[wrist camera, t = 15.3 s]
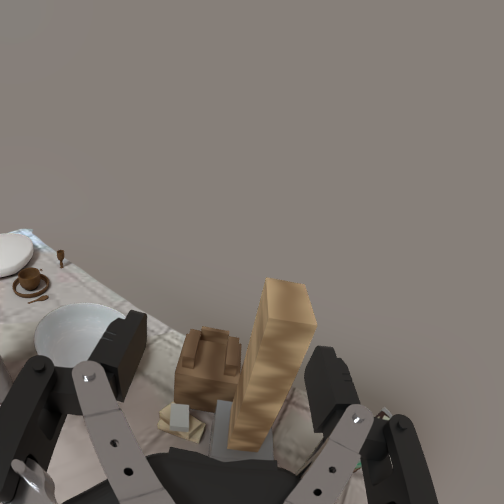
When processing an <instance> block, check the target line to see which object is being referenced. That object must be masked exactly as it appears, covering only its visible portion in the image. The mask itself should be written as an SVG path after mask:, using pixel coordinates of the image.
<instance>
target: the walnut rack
mask: <svg viewBox="0 0 504 504" xmlns="http://www.w3.org/2000/svg"><path fill="white" fill-rule="evenodd" d="M200 335H201V336H200ZM228 337H229V338H228ZM240 364H241V344H239V338H236V337H230V336H229V331H225V330H219V329H214V328H209V327H204V326H202V329H201V331H199V330H194V329H191V330H190V333H189V334H186V338H185V341H184V344H183V347H182V351H181V354H180V357H179V361H178V364H177V367H176V371H175V385H174V403H176V404H183V405H189V408H191V409H196V410H201V411H207V412H212V413H215V409H216V404H217V400H223V401H230V402H233V399H234V396H235V392H236V388H237V385H238V381H239V378H240Z"/></svg>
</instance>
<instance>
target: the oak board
mask: <svg viewBox="0 0 504 504" xmlns="http://www.w3.org/2000/svg"><path fill="white" fill-rule="evenodd" d="M316 327H317V322H316V319H315V316H314V312H313V310H312V306H311V303H310V300H309V297H308V293H307V290H306V287H305V285H304V284H299V283H293V282H288V281H282V280H277V279H272V278H266V280H265V284H264V288H263V291H262V295H261V299H260V303H259V307H258V311H257V314H256V319H255V322H254V326H253V330H252V334H251V337H250V341H249V345H248V348H247V352H246V356H245V360H244V363H243V367H242V370H241V374H240V378H239V381H238V385H237V388H236V392H235V396H234V399H233V403H232V406H231V410H230V421H229V432H228V444H227V449H232V450H240V451H249V452H258V451H259V449H260V447H261V445H262V444H263V442H264V440H265V438H266V436H267V434H268V432H269V430H270V428H271V426H272V424H273V423H274V421H275V419H276V417H277V415H278V413H279V411H280V409H281V407H282V404H283V402H284V400H285V398H286V396H287V394H288V392H289V390H290V388H291V385H292V383H293V381H294V379H295V377H296V375H297V372H298V370H299V368H300V366H301V363H302V361H303V359H304V356H305V354H306V351H307V349H308V347H309V344H310V342H311V340H312V337H313V335H314V332H315V330H316Z"/></svg>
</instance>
